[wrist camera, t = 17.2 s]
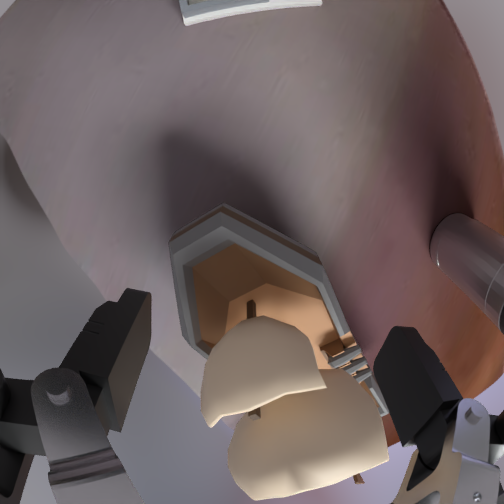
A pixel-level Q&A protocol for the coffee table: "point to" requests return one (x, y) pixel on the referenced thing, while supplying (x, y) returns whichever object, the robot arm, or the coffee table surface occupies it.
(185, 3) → the plate
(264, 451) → the sailing ship
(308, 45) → the coffee table surface
